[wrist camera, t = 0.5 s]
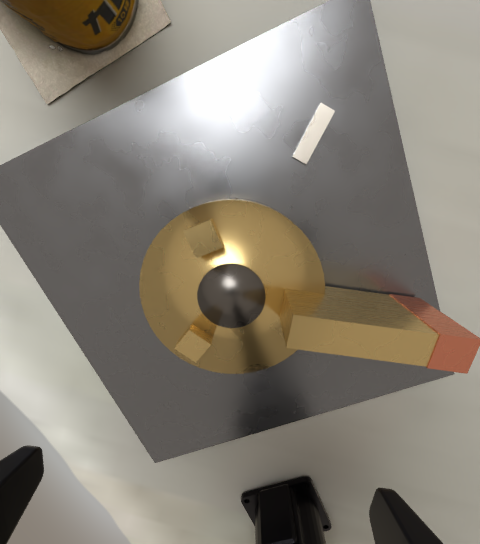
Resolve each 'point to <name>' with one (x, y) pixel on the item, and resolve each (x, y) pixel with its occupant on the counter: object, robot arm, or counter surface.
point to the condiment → (75, 36)
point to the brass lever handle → (276, 299)
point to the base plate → (228, 185)
